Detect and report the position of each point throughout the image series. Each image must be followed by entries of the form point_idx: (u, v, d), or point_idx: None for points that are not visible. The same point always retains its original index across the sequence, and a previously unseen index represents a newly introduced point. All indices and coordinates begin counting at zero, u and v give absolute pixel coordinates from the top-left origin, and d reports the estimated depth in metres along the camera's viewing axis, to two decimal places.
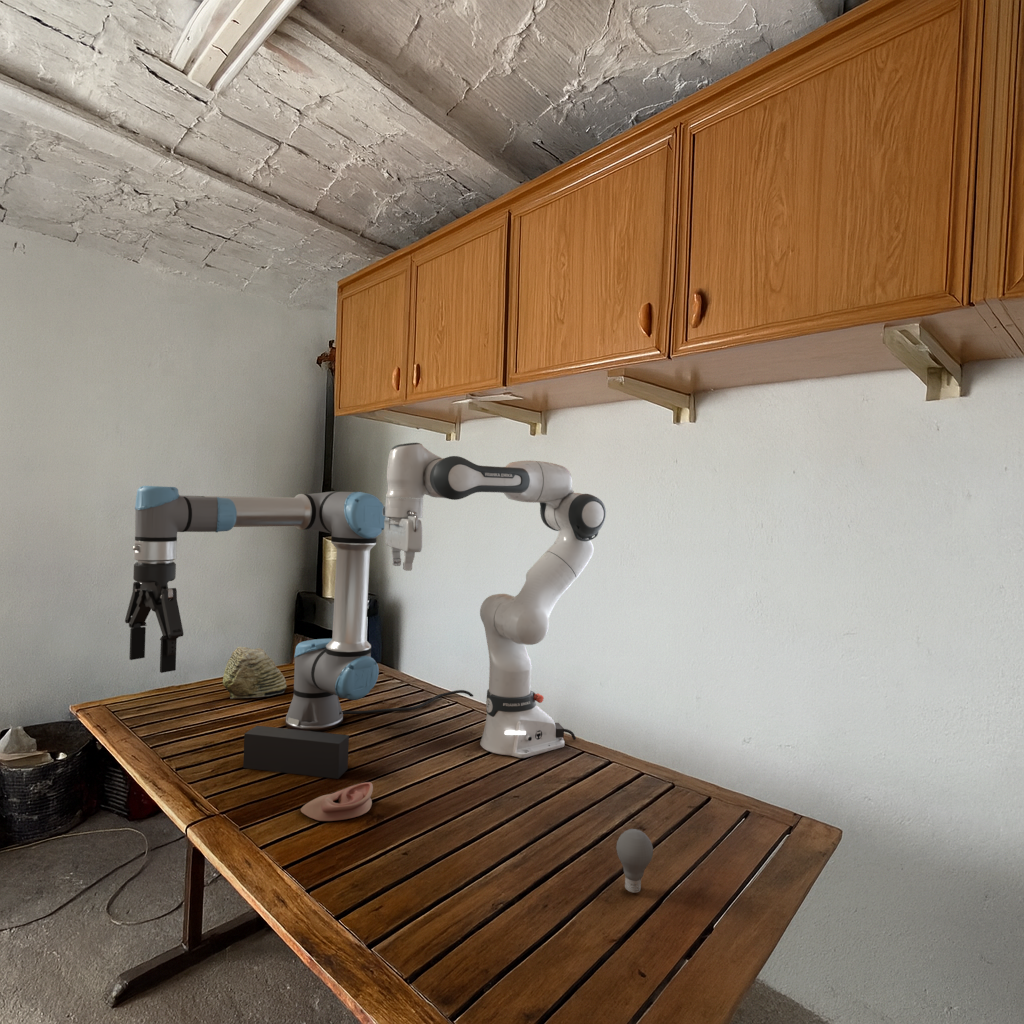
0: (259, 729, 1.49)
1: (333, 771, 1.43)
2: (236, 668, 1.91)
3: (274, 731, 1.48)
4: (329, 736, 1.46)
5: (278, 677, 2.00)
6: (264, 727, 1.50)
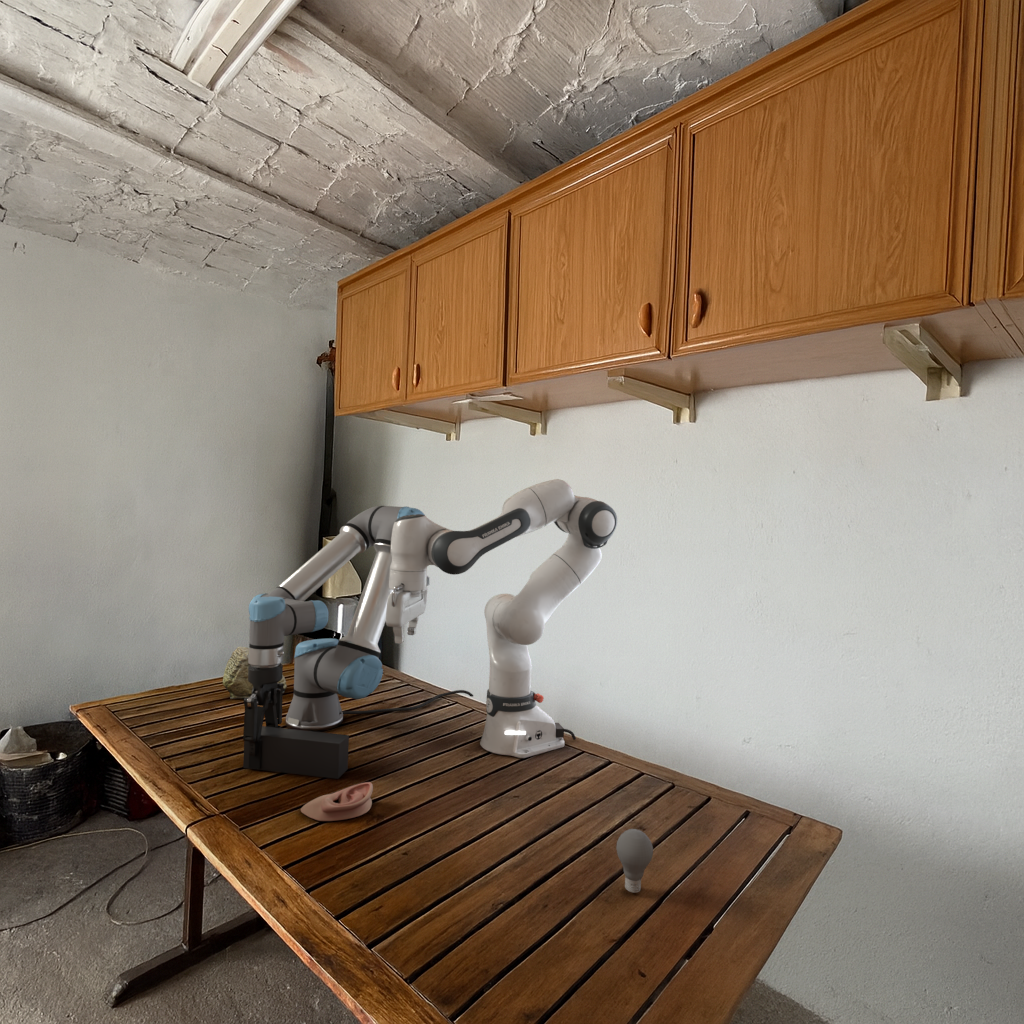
0: None
1: (333, 771, 1.43)
2: (236, 668, 1.91)
3: (274, 731, 1.48)
4: (329, 736, 1.46)
5: None
6: (264, 727, 1.50)
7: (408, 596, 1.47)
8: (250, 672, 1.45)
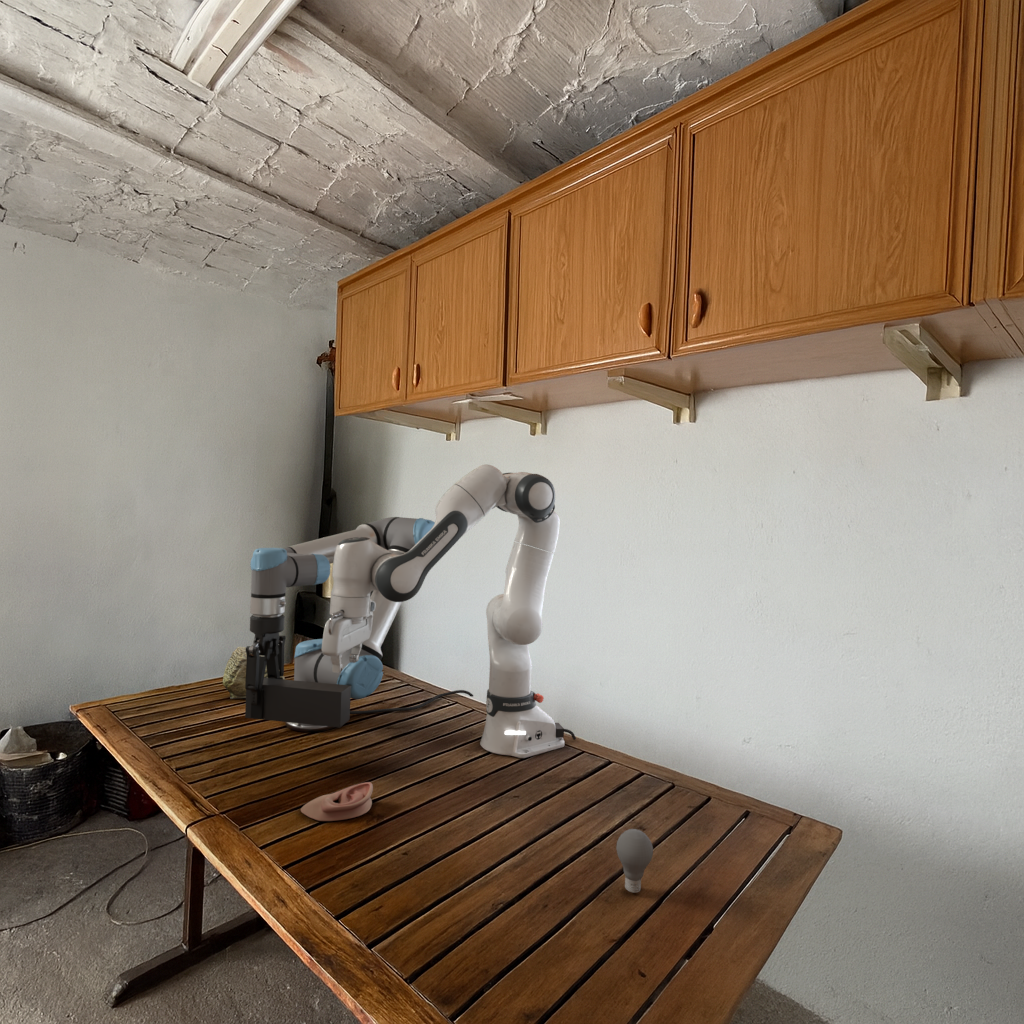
0: None
1: (335, 719, 1.42)
2: (236, 668, 1.91)
3: (276, 681, 1.48)
4: (331, 686, 1.46)
5: None
6: (266, 678, 1.50)
7: (347, 623, 1.41)
8: (252, 621, 1.45)
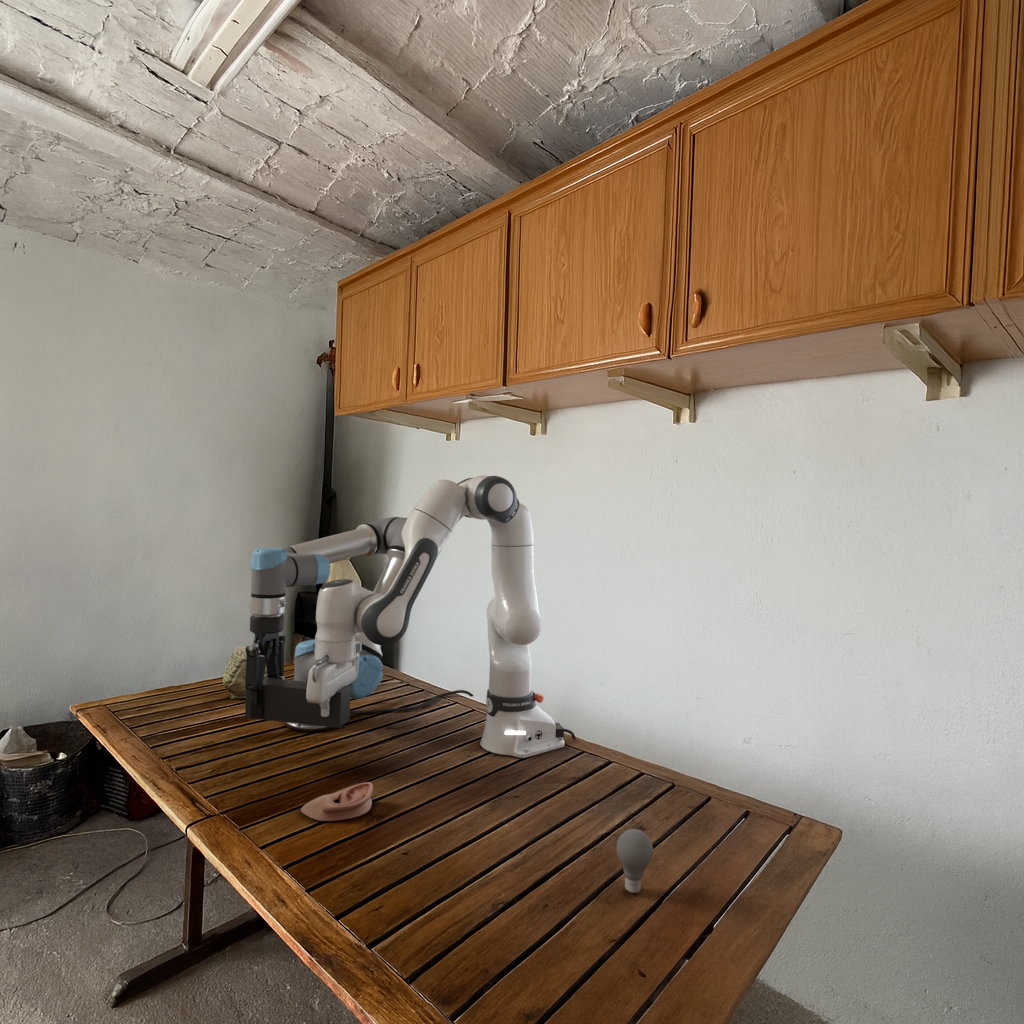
0: None
1: (334, 720, 1.42)
2: (236, 668, 1.91)
3: (276, 682, 1.48)
4: None
5: None
6: (266, 678, 1.50)
7: (332, 668, 1.40)
8: (252, 621, 1.45)
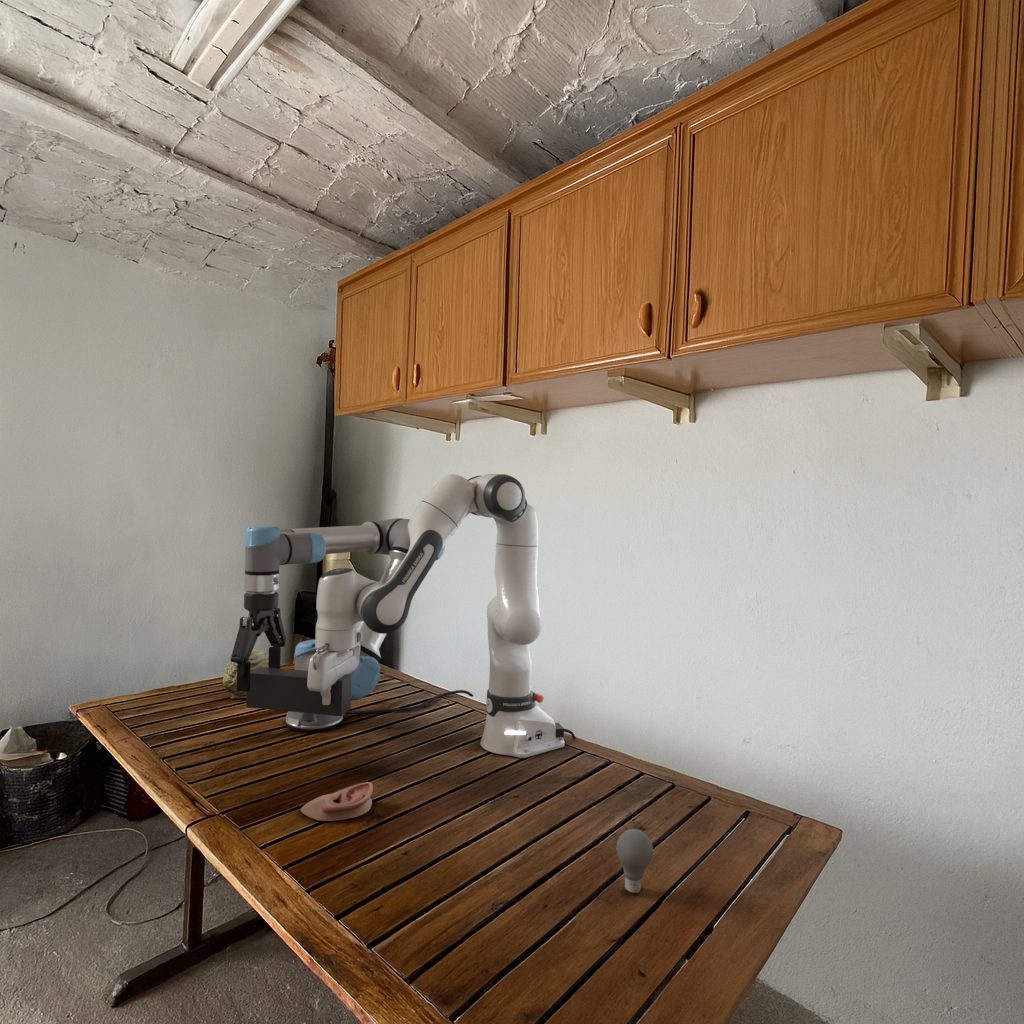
0: (262, 669, 1.48)
1: (336, 708, 1.42)
2: (236, 668, 1.91)
3: (277, 671, 1.48)
4: None
5: None
6: (267, 668, 1.50)
7: (332, 657, 1.40)
8: (246, 599, 1.45)
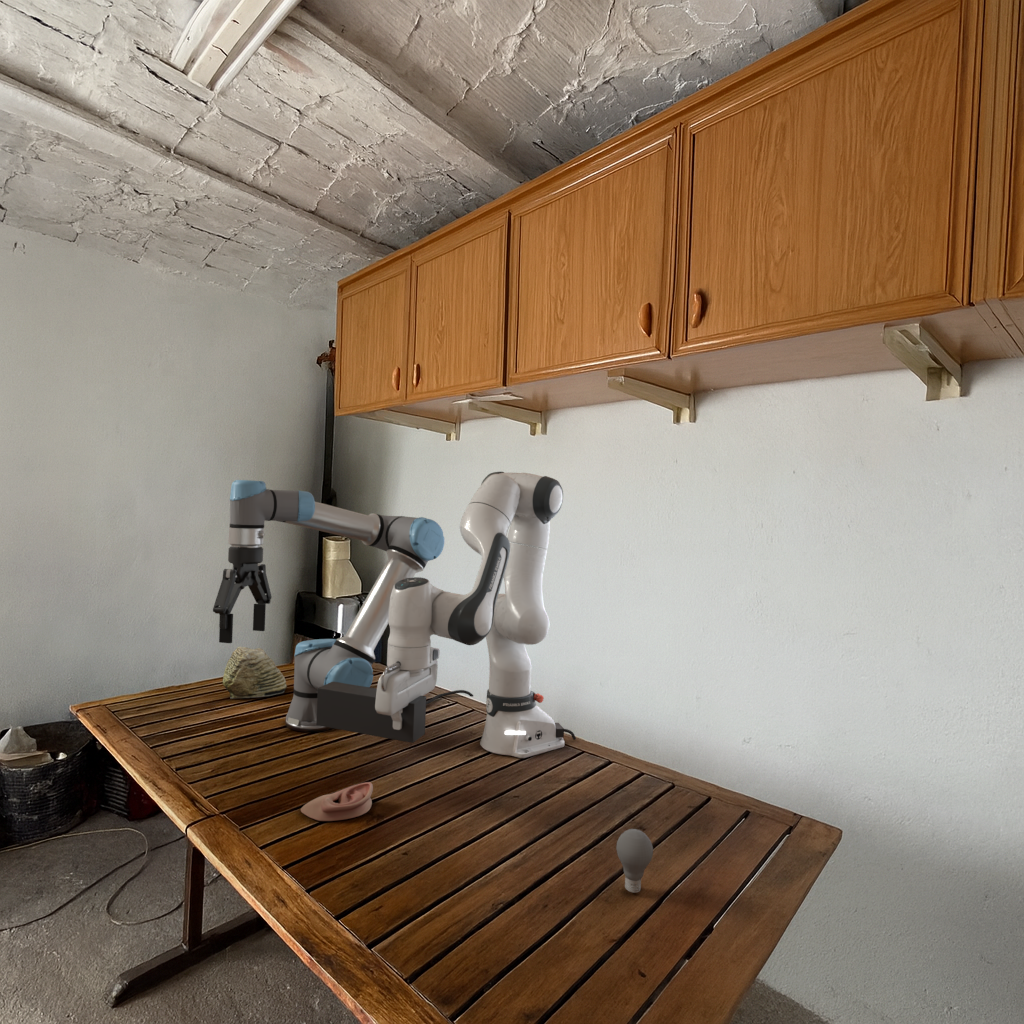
0: (334, 685, 1.38)
1: (407, 733, 1.28)
2: (236, 668, 1.91)
3: (348, 687, 1.36)
4: None
5: (278, 677, 2.00)
6: (339, 683, 1.39)
7: (403, 677, 1.26)
8: (230, 552, 1.45)
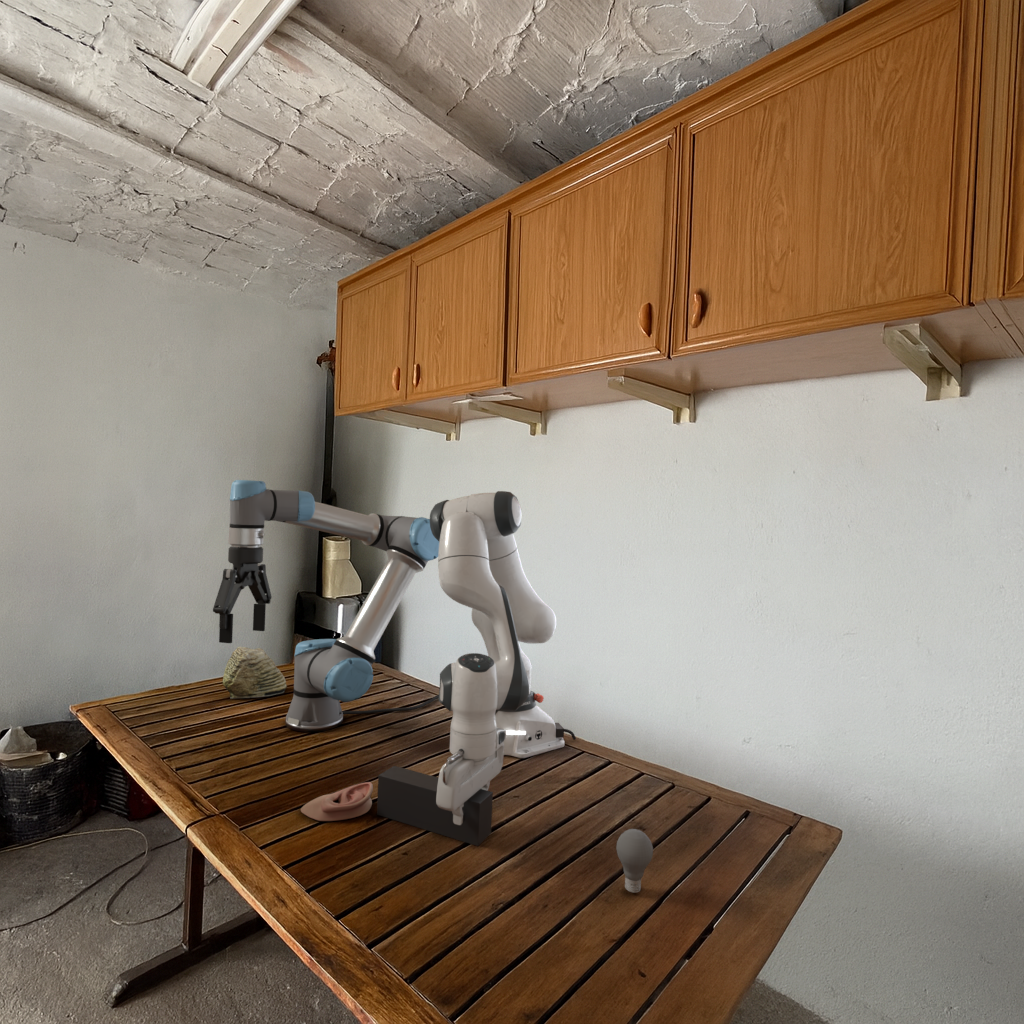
0: (395, 771, 1.29)
1: (472, 835, 1.18)
2: (236, 668, 1.91)
3: (410, 776, 1.27)
4: None
5: (278, 677, 2.00)
6: (401, 769, 1.30)
7: (467, 767, 1.15)
8: (230, 552, 1.45)
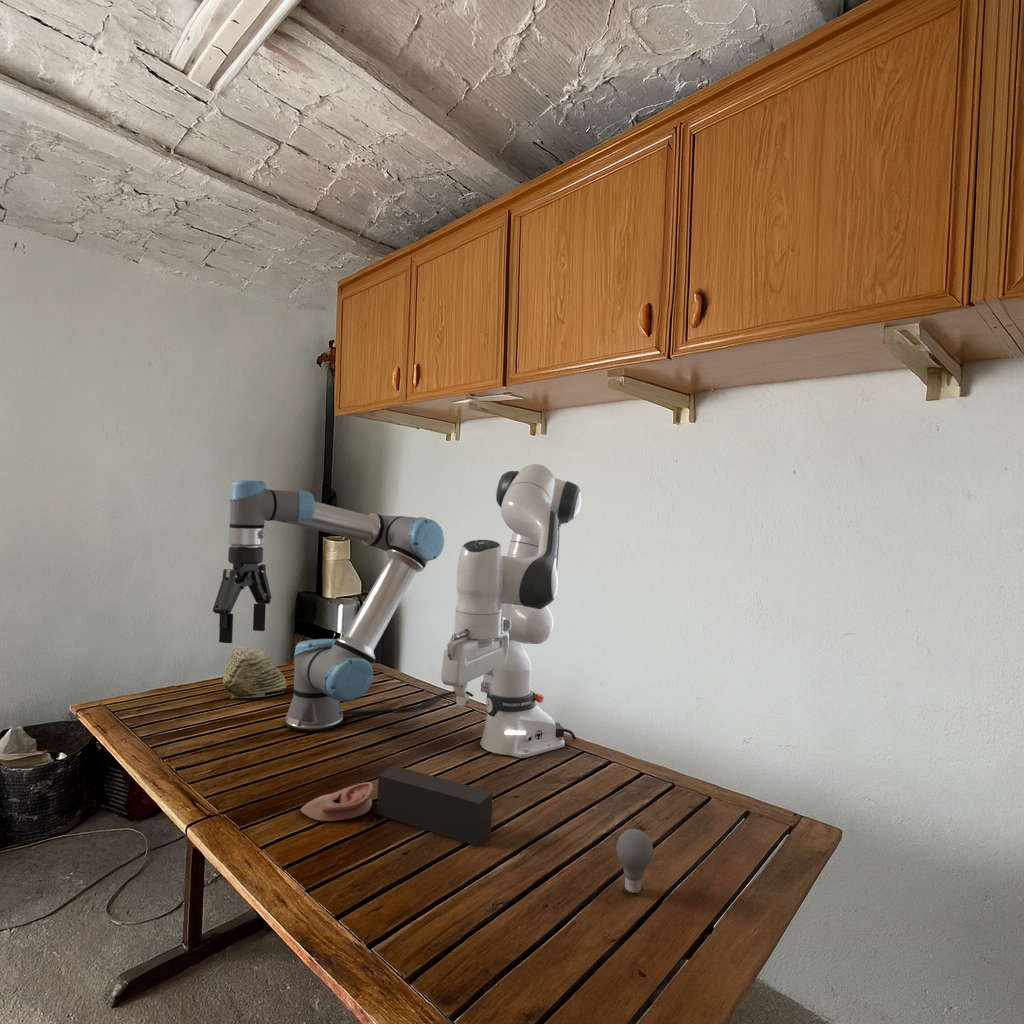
0: (395, 771, 1.29)
1: (472, 835, 1.18)
2: (236, 668, 1.91)
3: (410, 776, 1.27)
4: (470, 790, 1.22)
5: (278, 677, 2.00)
6: (401, 769, 1.30)
7: (472, 646, 1.15)
8: (230, 552, 1.45)
